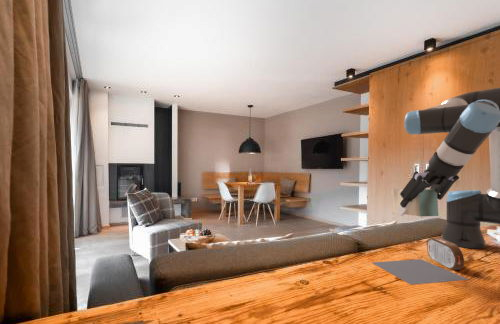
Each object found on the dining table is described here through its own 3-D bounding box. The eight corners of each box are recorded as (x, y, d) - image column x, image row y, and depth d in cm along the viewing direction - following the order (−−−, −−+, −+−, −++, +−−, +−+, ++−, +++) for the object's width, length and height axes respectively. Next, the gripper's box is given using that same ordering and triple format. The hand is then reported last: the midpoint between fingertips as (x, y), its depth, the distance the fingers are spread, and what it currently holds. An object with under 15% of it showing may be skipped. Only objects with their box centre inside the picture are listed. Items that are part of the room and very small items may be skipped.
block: (407, 188, 95) (436, 189, 83) (408, 212, 94) (438, 215, 82) (392, 188, 94) (419, 189, 82) (393, 212, 93) (421, 216, 81)
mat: (421, 260, 96) (421, 259, 96) (469, 280, 80) (469, 279, 80) (371, 263, 92) (371, 262, 92) (410, 286, 75) (410, 284, 75)
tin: (465, 274, 85) (465, 247, 85) (454, 274, 85) (455, 246, 85) (433, 257, 100) (433, 234, 100) (424, 257, 100) (425, 234, 100)
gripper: (469, 150, 80) (427, 203, 94) (411, 149, 76) (377, 204, 91) (489, 167, 74) (441, 220, 89) (428, 166, 71) (388, 222, 85)
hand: (409, 212), depth 90 cm, fingers closed on block, 6 cm apart
